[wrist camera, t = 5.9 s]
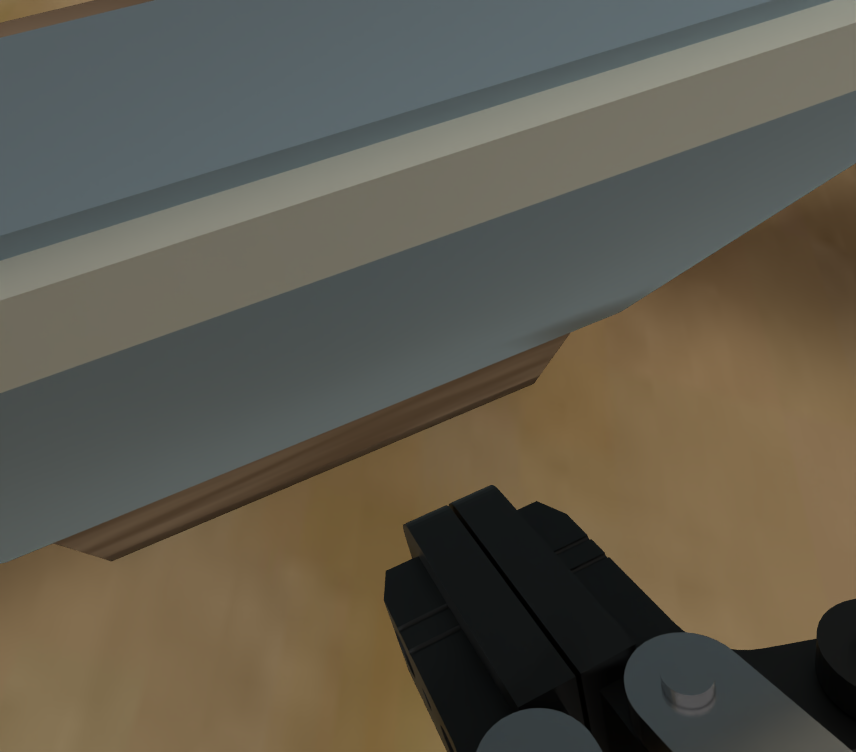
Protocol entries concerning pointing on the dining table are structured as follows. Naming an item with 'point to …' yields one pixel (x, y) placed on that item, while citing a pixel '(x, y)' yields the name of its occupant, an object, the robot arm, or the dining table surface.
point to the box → (304, 456)
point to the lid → (359, 209)
